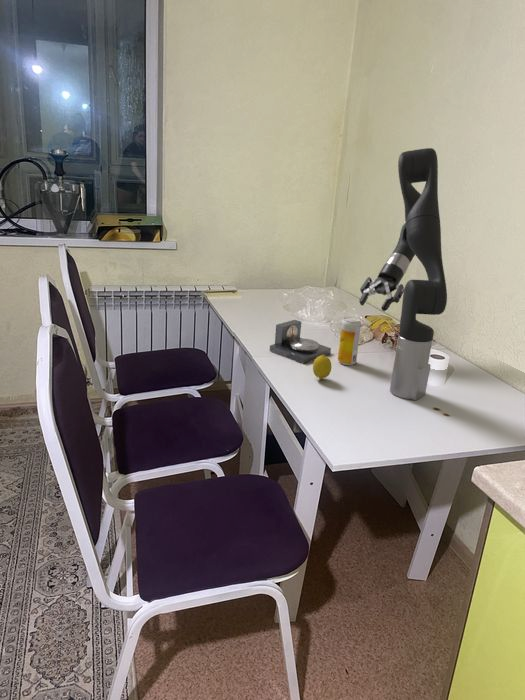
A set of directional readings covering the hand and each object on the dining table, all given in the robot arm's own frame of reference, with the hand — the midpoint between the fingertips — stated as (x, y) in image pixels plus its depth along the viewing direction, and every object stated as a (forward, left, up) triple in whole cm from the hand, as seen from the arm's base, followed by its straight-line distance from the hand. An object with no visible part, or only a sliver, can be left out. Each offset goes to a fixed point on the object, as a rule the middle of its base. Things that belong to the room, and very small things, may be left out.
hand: (371, 306), depth 166 cm
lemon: (-3, +29, -18) cm, 34 cm away
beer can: (0, +11, -18) cm, 21 cm away
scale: (+16, +16, -17) cm, 29 cm away
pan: (+15, +16, -15) cm, 26 cm away
